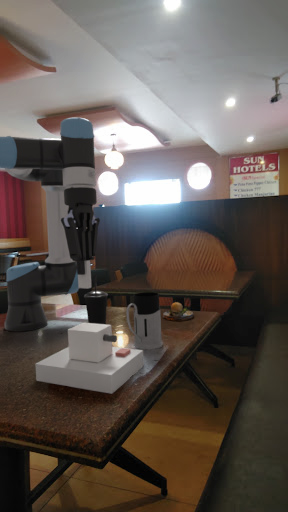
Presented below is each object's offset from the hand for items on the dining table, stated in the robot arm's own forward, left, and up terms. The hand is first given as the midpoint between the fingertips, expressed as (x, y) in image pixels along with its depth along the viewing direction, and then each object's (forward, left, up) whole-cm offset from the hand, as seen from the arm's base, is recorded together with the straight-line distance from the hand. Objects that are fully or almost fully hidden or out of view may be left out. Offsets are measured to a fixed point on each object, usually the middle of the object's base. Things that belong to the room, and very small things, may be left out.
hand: (85, 287), depth 84 cm
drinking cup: (-14, +26, -21) cm, 36 cm away
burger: (+3, +57, -21) cm, 61 cm away
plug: (+3, -1, -21) cm, 21 cm away
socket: (+1, -1, -21) cm, 21 cm away
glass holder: (+5, +20, -21) cm, 30 cm away
